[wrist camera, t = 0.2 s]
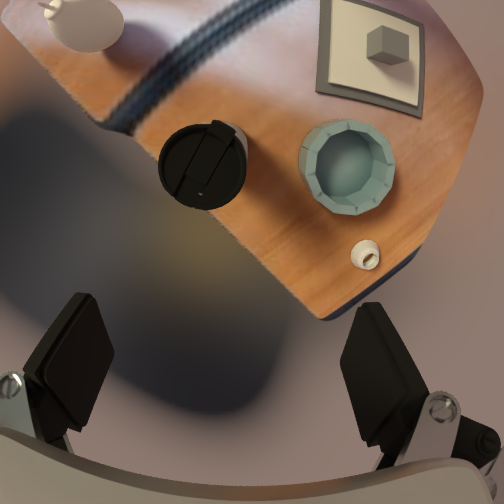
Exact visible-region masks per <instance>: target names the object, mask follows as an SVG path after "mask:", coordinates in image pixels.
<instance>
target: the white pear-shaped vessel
mask: <svg viewBox="0 0 504 504" xmlns="http://www.w3.org/2000/svg"><path fill="white" fill-rule="evenodd" d="M38 5H40V6H42V7H44V8H46V9H45V12H44V16H45V18H46V19H47V21H48V25H49V28H50V30H51V32H52V33H53V35H54V36H55V37H56V38H57V39H58V40H59V41H60V42H61V43H62V44H64V45H65V46H67V47H69V48H71V49H73V50H76V51H80V52H86V53H90V52H98V51H101V50H104V49H106V48H108V47H110V46H111V45H112V44H114V43H115V42H116V41H117V40H118V39H119V37H120V36H121V34H122V32H123V29H124V18H123V15H122V13H121V11H120V10H119V9H118V8H117V6H116V5H114V4H113V3H112V2H110V1H109V0H54V1H52V2H51V3H50V4H49V5H48V4H45V3H40V2H39V3H38Z"/></svg>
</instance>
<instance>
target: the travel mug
mask: <svg viewBox="0 0 504 504" xmlns="http://www.w3.org/2000/svg"><path fill="white" fill-rule="evenodd" d="M247 161H248V143H247V138H246V136H245V134H244V132H243V131H242V130H241V129H240V128H239V127H238V126H236V125H234V124H232V123H227V122H221V121H219V120H213V121H212V122H211V123H201V124H195V125H190V126H186V127H184V128H182V129H180V130H178V131H177V132H175V133H174V134H173V135H171V137H170V138H169V139H168V140H167V141H166V142H165V144H164V146H163V148H162V150H161V152H160V155H159V161H158V171H159V172H158V173H159V176H160V180H161V183H162V185H163V187H164V189H165V190H166V191H167V192H168V193H169V194H170V195H171V196H173V197H174V198H175V199H176V200H177V201H178V202H180V203H181V204H183V205H186V206H188V207H195V209H202V210H212V209H216V208H219V207H222V206H224V205H225V204H227V203H229V202H230V201H231V200H232V199H234V198H235V197H236V195H237V194H238V193H239V192H240V190H241V188H242V186H243V184H244V181H245V178H246V170H247Z"/></svg>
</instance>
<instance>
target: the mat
mask: <svg viewBox="0 0 504 504" xmlns="http://www.w3.org/2000/svg"><path fill="white" fill-rule="evenodd" d="M343 1H347V2H351V3H354V4H358V5H361V6H364V7H368V8H371V9H374V10H377V11H380V12H382V13H385V14H388V15H391V16H393V17H396V18H398V19H401V20H403V21H406V22H408V23H410V24H413V25H415V26H417V27H419V90H418V104H417V106H413V105H410V104H407V103H404V102H401V101H398V100H395V99H392V98H389V97H385V96H382V95H378V94H375V93H371V92H367V91H363V90H359V89H355V88H350V87H346V86H341V85H337V84H331V83H328V76H329V61H330V42H331V12H332V0H320V24H319V45H318V62H317V77H316V90H315V92H321V93H327V94H332V95H337V96H342V97H347V98H352V99H356V100H360V101H365V102H369V103H373V104H376V105H380V106H384V107H387V108H391V109H394V110H398V111H401V112H404V113H407V114H410V115H413V116H416V117H419V118H421V116H422V104H423V89H424V28H423V24H421V23H419V22H417V21H415V20H412V19H410V18H408V17H405V16H403V15H401V14H398V13H396V12H393V11H391V10H388V9H385V8H382V7H380V6H377V5H374V4H371V3H368V2H365V1H361V0H343Z"/></svg>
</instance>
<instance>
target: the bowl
mask: <svg viewBox="0 0 504 504" xmlns="http://www.w3.org/2000/svg"><path fill="white" fill-rule="evenodd" d="M395 166H396V163H395V160H394V156H393V153H392V150H391V147H390V144H389V141H388V140H387V139H386V138H385V137H384V136H383V135H382V134H381V133H380V132H379V131H378V130H377V129H376V128H375V127H373V126H372V125H371V124H368V123H363V122H359V121H354V120H349V119H334V120H332V121H328V122H324V123H322V124H320V125H318V126H316V127H314V128H313V129H312V130H311V131H310V132H309V133H308V134H307V136H306V137H305V139H304V140H303V142H302V144H301V147H300V150H299V155H298V169H299V172H300V175H301V178H302V180H303V182H304V183H305V185H306V188H307V190H308V191H309V192H310V193H311V195H312V196H313V197H314V198H315V199H316V200H317V201H318V202H320V203H321V204H322V205H324V206H325V207H326V208H328V209H329V210H330V211H332V212H333V213H338V214H348V215H359V214H361V213H363V212H366V211H368V210H370V209H372V208H374V207H377V206H378V205H379V204H380V202H381V201H382V200H383V198H384V197H385V196H386V194H387V193H388V192H389V190H390V189H391V187H392V183H393V178H394V172H395Z"/></svg>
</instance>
